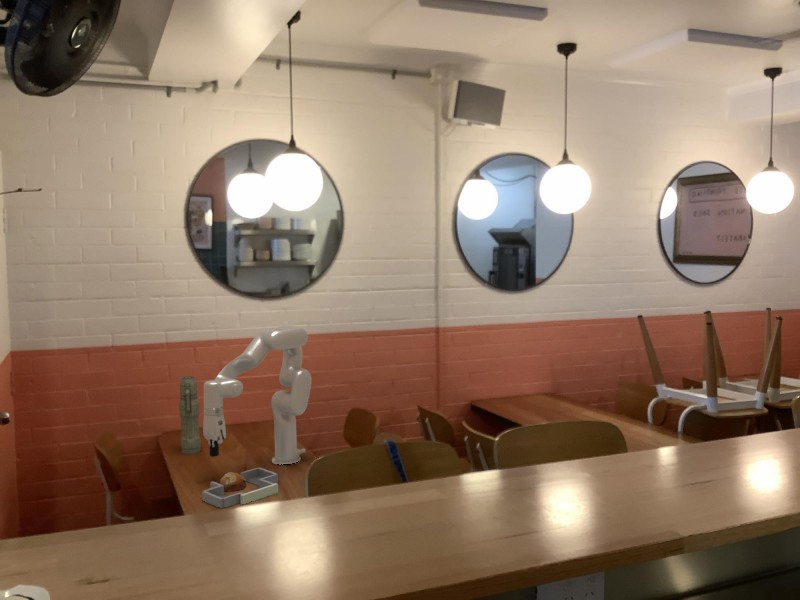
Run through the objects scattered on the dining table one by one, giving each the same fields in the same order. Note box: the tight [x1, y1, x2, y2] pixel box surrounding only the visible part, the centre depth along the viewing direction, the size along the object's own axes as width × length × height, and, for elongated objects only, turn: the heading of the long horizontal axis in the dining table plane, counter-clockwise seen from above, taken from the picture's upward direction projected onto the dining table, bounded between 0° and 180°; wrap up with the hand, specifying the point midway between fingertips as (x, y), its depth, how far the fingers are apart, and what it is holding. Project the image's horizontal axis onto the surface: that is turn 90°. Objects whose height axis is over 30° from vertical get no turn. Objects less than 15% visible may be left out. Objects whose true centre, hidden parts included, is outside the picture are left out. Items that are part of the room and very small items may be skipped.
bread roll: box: [219, 471, 247, 493], centre depth 288 cm, size 10×10×8 cm
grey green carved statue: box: [178, 376, 202, 456], centre depth 335 cm, size 9×12×35 cm
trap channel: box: [201, 467, 279, 509], centre depth 283 cm, size 31×22×4 cm
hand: (214, 455), depth 294 cm, fingers closed
